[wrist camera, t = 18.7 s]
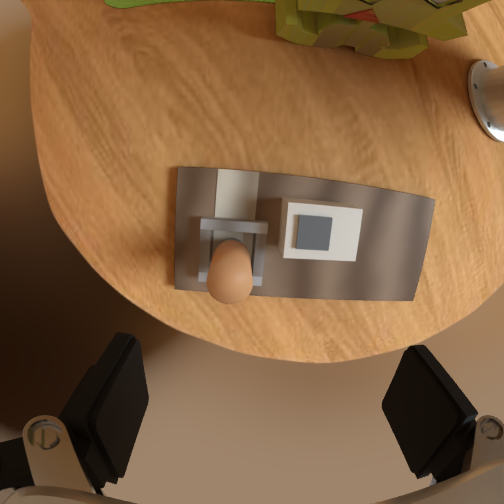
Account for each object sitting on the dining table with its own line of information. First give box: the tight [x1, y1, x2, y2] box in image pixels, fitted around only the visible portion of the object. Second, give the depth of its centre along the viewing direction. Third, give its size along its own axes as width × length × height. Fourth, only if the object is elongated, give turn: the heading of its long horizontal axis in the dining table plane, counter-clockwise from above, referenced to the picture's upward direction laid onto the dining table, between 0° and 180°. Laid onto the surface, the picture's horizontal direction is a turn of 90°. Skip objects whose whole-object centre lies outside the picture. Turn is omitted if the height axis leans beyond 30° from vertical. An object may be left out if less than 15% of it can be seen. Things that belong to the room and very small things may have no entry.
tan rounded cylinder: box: [206, 238, 253, 304], centre depth 26 cm, size 3×3×9 cm
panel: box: [175, 167, 435, 301], centre depth 30 cm, size 29×13×3 cm, turn 85°
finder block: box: [278, 197, 363, 261], centre depth 28 cm, size 7×5×4 cm
